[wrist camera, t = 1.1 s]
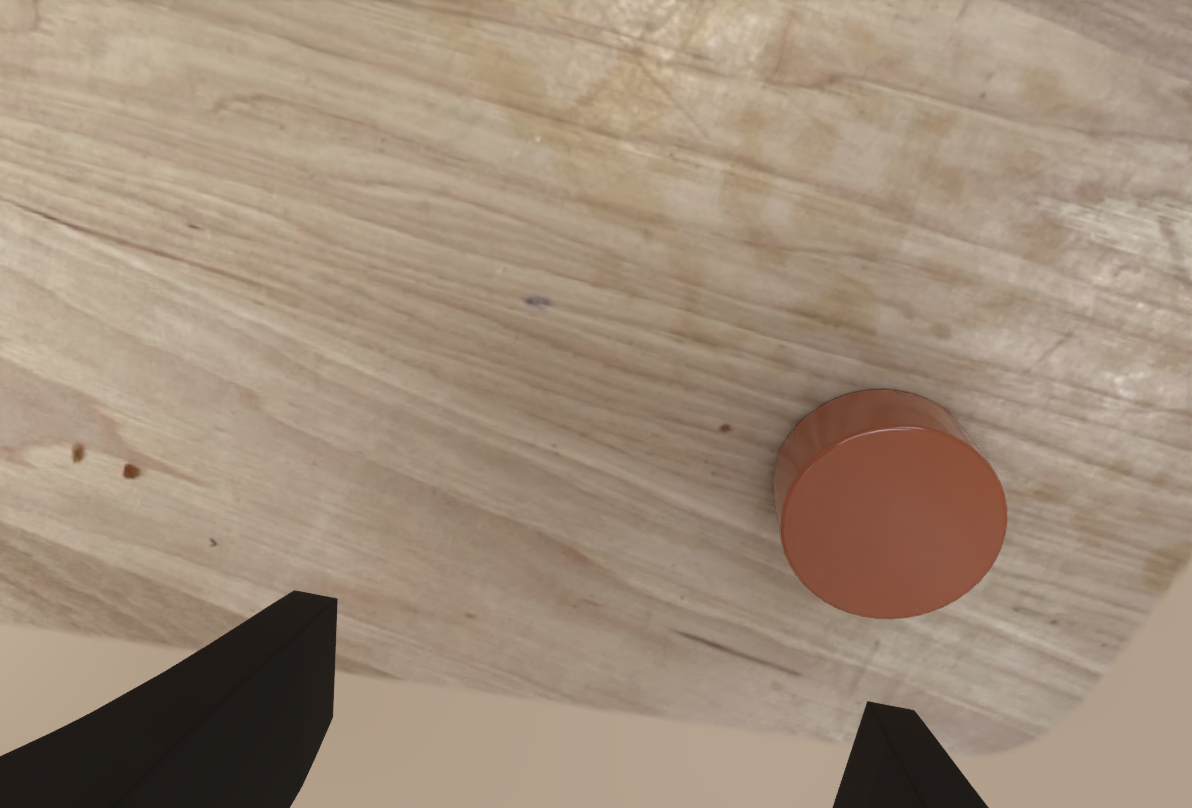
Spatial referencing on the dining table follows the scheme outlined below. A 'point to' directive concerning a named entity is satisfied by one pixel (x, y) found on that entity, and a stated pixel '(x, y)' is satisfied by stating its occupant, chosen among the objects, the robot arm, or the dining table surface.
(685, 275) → the dining table surface
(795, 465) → the cylinder
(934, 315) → the dining table surface
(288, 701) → the robot arm
